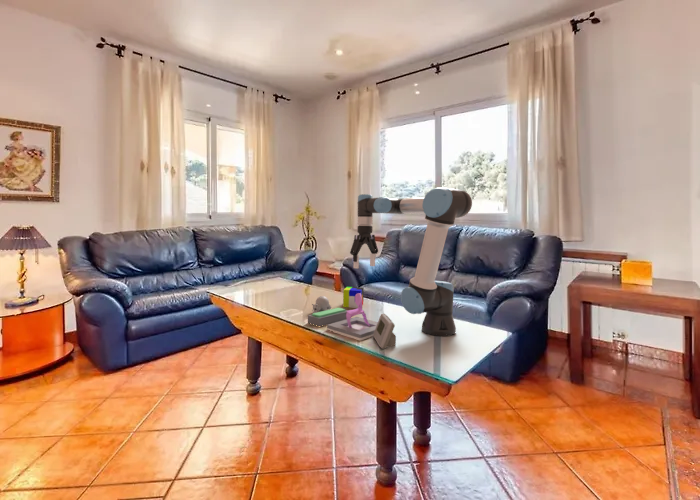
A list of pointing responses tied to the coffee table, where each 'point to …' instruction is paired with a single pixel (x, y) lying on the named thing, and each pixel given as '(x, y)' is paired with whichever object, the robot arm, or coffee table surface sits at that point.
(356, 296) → the toy chair
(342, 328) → the grey flat square frame
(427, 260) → the robot arm
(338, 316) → the button housing
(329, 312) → the bar
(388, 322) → the digital clock
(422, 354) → the coffee table surface
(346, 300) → the puzzle toy
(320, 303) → the chubby cartoon animal
